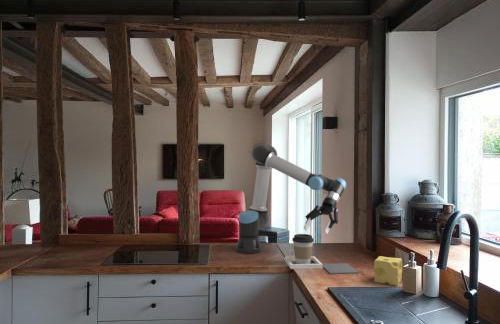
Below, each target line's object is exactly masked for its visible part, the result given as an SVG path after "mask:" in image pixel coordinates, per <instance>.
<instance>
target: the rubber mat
mask: <svg viewBox="0 0 500 324" xmlns="http://www.w3.org/2000/svg"><path fill="white" fill-rule="evenodd" d="M322 264H323V268H322V269H323V270H325V271H326V272H327V273H328V274H329V275H347V274H352V275H353V274H355V275H356V274H359V271H358V270H356V269H355V268H354V267H352V266H351V265H350V264H349V263H346V262H345V263H344V262H343V263H341V262H340V263H322Z"/></svg>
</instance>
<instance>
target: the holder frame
mask: <svg viewBox="0 0 500 324" xmlns="http://www.w3.org/2000/svg"><path fill="white" fill-rule="evenodd" d="M284 261H285V264H287V266H288V267H289V269H290V270H299V269H300V270H303V269H324V268H323V264H324V263H322V262H321V261H320V260H319V259H318V258H317V257H316V256H315V255H311V261H313V262H314V263H310V264H296V263H292V262H296V261H295V256H284Z"/></svg>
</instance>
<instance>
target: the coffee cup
mask: <svg viewBox="0 0 500 324" xmlns="http://www.w3.org/2000/svg"><path fill="white" fill-rule="evenodd" d="M314 240H315V239H314V238H313V235H311V234H307V233H297V234H294V235H293V237H292V244H293V250H294V257H295V261H294V262H295V264H311V262H312V260H311V256H312V253H313V246H314V245H313V244H314V242H315V241H314Z"/></svg>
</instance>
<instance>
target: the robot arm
mask: <svg viewBox="0 0 500 324" xmlns="http://www.w3.org/2000/svg"><path fill="white" fill-rule="evenodd" d="M251 157H252V160H253V161H254V162H255V164H254V165H255V166H256V168H257V169H256V175H255V184H254V191H253V198H252V203H251V204H252V205H250V206H249V210H243V211H241V212H240V213H239V215H238V239H237V242H236V243H237V244H236V246H235V252H237V253H241V254H257V253H260V252H261V251H262V246H261V243H260V240H259V230H261V229H264V228H265V227H266V226H267V225H268V223H269V214H268V208H267V201H268V200H267V199H268V193H269V187H270V178H271V171H272V170H273V169H274V170H276V171H278V172H280V173H281V174H283V175H285V176H288V177H290V178H291V179H294V180H296V181H298V182H299V183H301V184H303V185H305V186H307V187H309V188H310V189H311V190H313V191H319V190H323V191H326V192H327V193H326V195H325V197H324V199H323V200H322V202H321V203H322V204H321V206H319V205H315V207H314V208H313V209H312V210H311V211H310V212H308V213H307V215H305V216H304V217H305V218H306V220H305V224H304V226H303V229H304V230H305V231H306V232H307V231H308V229H309V227H310V225H311V224H312V221H313V220H315V219H316V218H317V217H319V216H322V215H323V216H324V215H325V216H328V218H329V221H328V222H327V224H326V226H325V228H324V230H323V231H324V233H325V234H326V235H328V233H329V232H330V230H331V229H332V228H333V226H334V225H335V224H338V223H339V217H338V212H339V209H338V207H337V204H338V203H339V201H340V199H341V197H342V195H343V194H344V191H345V189H346V187H347V182H346V181H345V179H343V178H341V177H336V178H334V179H331V178H329V177H327V176H325V175H322V174H319V173H312V172H311V171H308V170H306V169H304V168H302V167H301V166H298V165H296V164H294V163H292V162H290V161H288V160H286V159H285V158H282V157H280V156H278V151H277V150H276V148H275V147H274V146H272V145H270V144H262V143H261V144H256V145H255V146H254V147H253V148H252V151H251ZM332 213H333V215H332Z"/></svg>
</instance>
